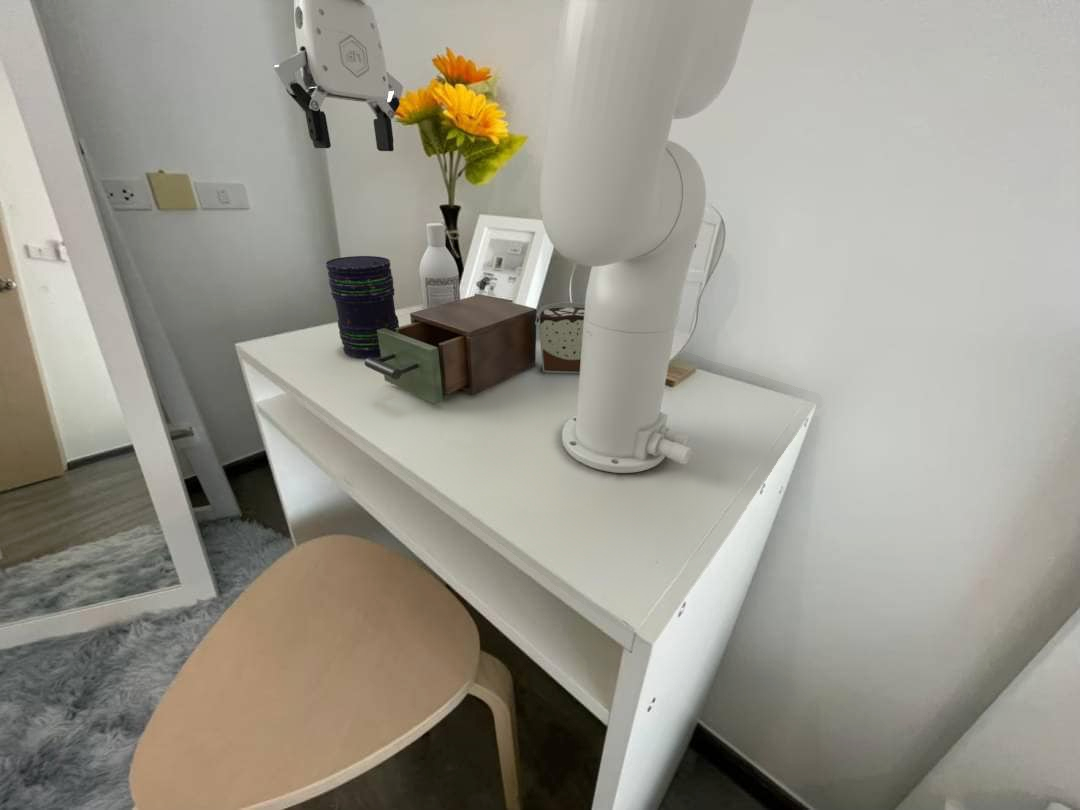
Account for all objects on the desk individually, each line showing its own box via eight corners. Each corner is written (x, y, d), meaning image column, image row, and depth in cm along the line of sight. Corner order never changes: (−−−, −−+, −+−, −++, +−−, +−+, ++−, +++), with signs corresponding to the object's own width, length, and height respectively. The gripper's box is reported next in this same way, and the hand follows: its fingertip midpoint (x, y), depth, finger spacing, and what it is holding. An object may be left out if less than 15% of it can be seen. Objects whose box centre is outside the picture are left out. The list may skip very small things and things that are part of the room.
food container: (606, 359, 76) (612, 302, 71) (610, 374, 70) (617, 314, 66) (535, 357, 76) (536, 300, 71) (533, 371, 71) (535, 311, 66)
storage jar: (330, 355, 74) (310, 265, 67) (363, 336, 83) (349, 254, 75) (384, 362, 72) (369, 270, 65) (412, 341, 81) (401, 258, 74)
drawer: (410, 416, 55) (402, 360, 52) (359, 390, 61) (348, 337, 58) (503, 372, 68) (503, 324, 64) (453, 354, 74) (449, 309, 70)
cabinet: (473, 395, 63) (469, 332, 58) (416, 371, 69) (409, 312, 65) (535, 364, 73) (536, 308, 68) (481, 346, 80) (479, 294, 75)
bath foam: (469, 336, 84) (463, 225, 75) (436, 343, 80) (425, 227, 71) (451, 326, 89) (443, 220, 79) (419, 333, 85) (407, 222, 75)
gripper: (270, -47, 45) (308, 146, 53) (409, 0, 57) (422, 152, 65) (239, -32, 49) (279, 146, 57) (375, 10, 61) (392, 151, 69)
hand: (355, 149), depth 61 cm, fingers open, 9 cm apart
